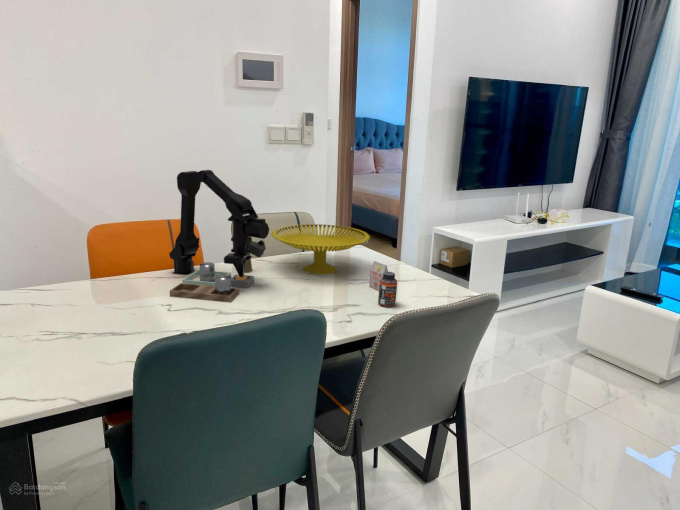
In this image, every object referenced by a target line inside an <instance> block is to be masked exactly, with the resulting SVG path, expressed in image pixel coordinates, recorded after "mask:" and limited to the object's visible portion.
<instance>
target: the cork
mask: <svg viewBox="0 0 680 510" xmlns="http://www.w3.org/2000/svg"><path fill="white" fill-rule="evenodd" d="M248 256H251V253H249V252H248ZM252 272H253V266H252V257H251V258H250V259H249V260H248V261H247V264H246V267H245V271H244V274H249V273H252Z"/></svg>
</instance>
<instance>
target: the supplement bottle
mask: <svg viewBox="0 0 680 510" xmlns="http://www.w3.org/2000/svg"><path fill="white" fill-rule="evenodd" d="M397 290H398V280H397V279H396V273H395V272H393V271H388V272H384V273H383V278H381V279H380V284H379V291H378V299H377V303H378V305H379V306H380V307H384V308H392V307H395V306H396V303H397V302H396V300H397Z"/></svg>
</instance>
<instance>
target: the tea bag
mask: <svg viewBox="0 0 680 510" xmlns="http://www.w3.org/2000/svg"><path fill="white" fill-rule="evenodd" d="M384 272H389V270H388V265H387V264H384V263H382V262H379V261H377V260H374V261H373V264H372V267H371V270H370V272H369V285H368V288H370V289H373V290H375V291H377V292H379V284H380V279H381V278H383V273H384Z"/></svg>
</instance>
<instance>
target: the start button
mask: <svg viewBox="0 0 680 510" xmlns="http://www.w3.org/2000/svg"><path fill="white" fill-rule="evenodd" d="M246 275H247V274H244V275H243V277H240V276H239V274H237V276H236V280H244V281H246V280H247V276H246Z"/></svg>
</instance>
